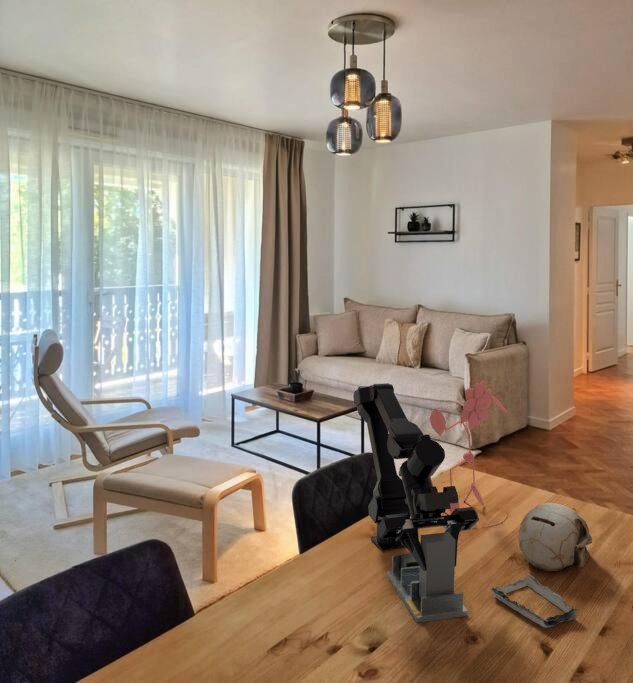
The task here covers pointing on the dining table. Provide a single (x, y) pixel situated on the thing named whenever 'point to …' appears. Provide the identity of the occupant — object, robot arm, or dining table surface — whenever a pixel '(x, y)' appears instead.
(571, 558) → the coin bank
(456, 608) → the rack
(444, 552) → the block
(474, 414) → the figurine
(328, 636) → the dining table surface
